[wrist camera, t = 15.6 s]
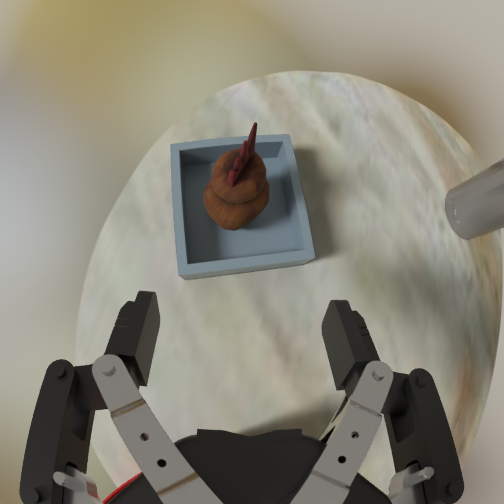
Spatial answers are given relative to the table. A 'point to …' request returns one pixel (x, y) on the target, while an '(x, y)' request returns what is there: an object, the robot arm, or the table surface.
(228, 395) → the table surface
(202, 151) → the box
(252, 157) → the wooden figurine
